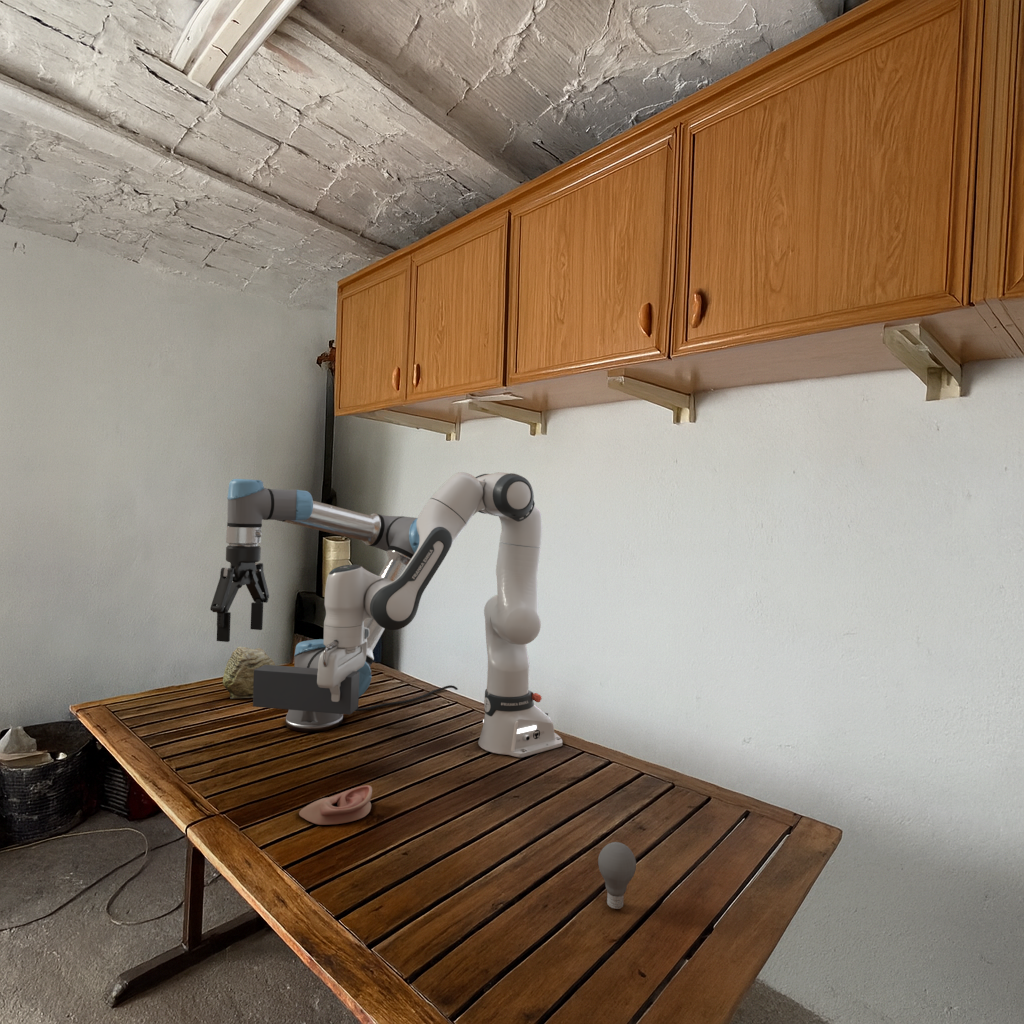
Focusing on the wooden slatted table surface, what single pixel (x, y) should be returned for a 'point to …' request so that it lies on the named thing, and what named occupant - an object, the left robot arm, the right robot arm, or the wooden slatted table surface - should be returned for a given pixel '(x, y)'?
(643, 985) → the wooden slatted table surface
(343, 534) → the left robot arm
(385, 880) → the wooden slatted table surface
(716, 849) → the wooden slatted table surface
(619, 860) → the light bulb
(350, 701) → the bar
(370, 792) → the anatomical model
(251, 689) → the fossil
